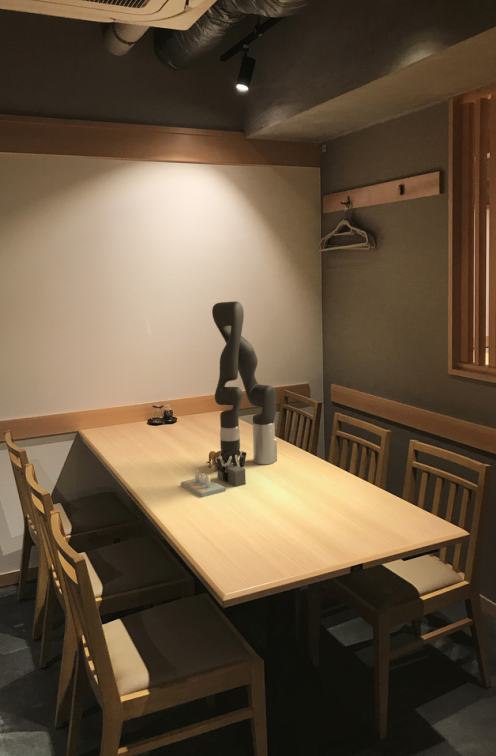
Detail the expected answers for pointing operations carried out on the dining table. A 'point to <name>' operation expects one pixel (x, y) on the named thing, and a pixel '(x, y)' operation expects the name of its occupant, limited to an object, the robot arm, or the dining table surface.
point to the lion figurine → (212, 456)
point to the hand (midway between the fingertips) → (231, 479)
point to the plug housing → (234, 475)
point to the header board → (202, 485)
